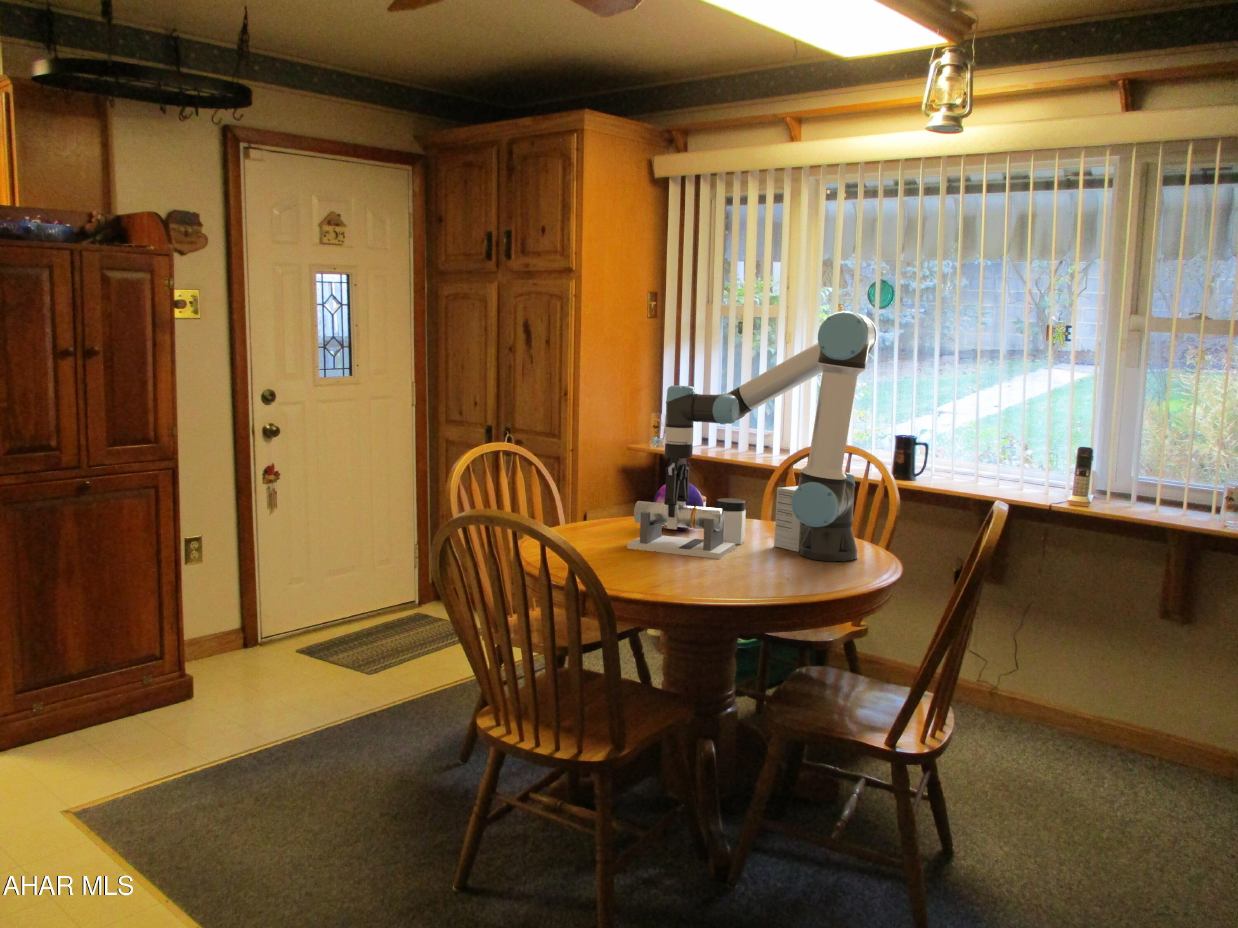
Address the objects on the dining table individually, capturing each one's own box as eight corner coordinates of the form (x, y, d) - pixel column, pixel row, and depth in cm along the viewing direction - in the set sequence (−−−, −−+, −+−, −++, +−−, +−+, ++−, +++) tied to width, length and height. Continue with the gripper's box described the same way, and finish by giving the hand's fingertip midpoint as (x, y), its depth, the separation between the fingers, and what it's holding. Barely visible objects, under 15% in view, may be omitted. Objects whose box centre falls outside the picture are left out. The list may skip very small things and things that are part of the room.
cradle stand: (734, 548, 265) (736, 512, 264) (719, 558, 251) (721, 521, 250) (646, 538, 275) (647, 504, 273) (627, 548, 261) (628, 512, 260)
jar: (750, 543, 273) (752, 501, 272) (730, 546, 268) (732, 503, 267) (728, 537, 280) (729, 497, 279) (708, 540, 275) (709, 499, 274)
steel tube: (724, 523, 262) (723, 504, 259) (718, 535, 257) (716, 516, 254) (642, 514, 271) (640, 496, 268) (635, 526, 266) (632, 508, 263)
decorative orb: (646, 525, 295) (647, 477, 294) (691, 524, 300) (693, 476, 298) (662, 535, 281) (664, 484, 279) (710, 533, 286) (712, 483, 284)
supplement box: (798, 552, 263) (801, 491, 260) (772, 546, 270) (775, 487, 268) (820, 548, 269) (824, 489, 267) (795, 542, 276) (798, 484, 274)
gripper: (677, 439, 270) (674, 520, 273) (653, 444, 253) (651, 531, 256) (702, 440, 268) (699, 522, 270) (680, 446, 250) (677, 533, 253)
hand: (676, 526), depth 263 cm, fingers closed on steel tube, 6 cm apart
